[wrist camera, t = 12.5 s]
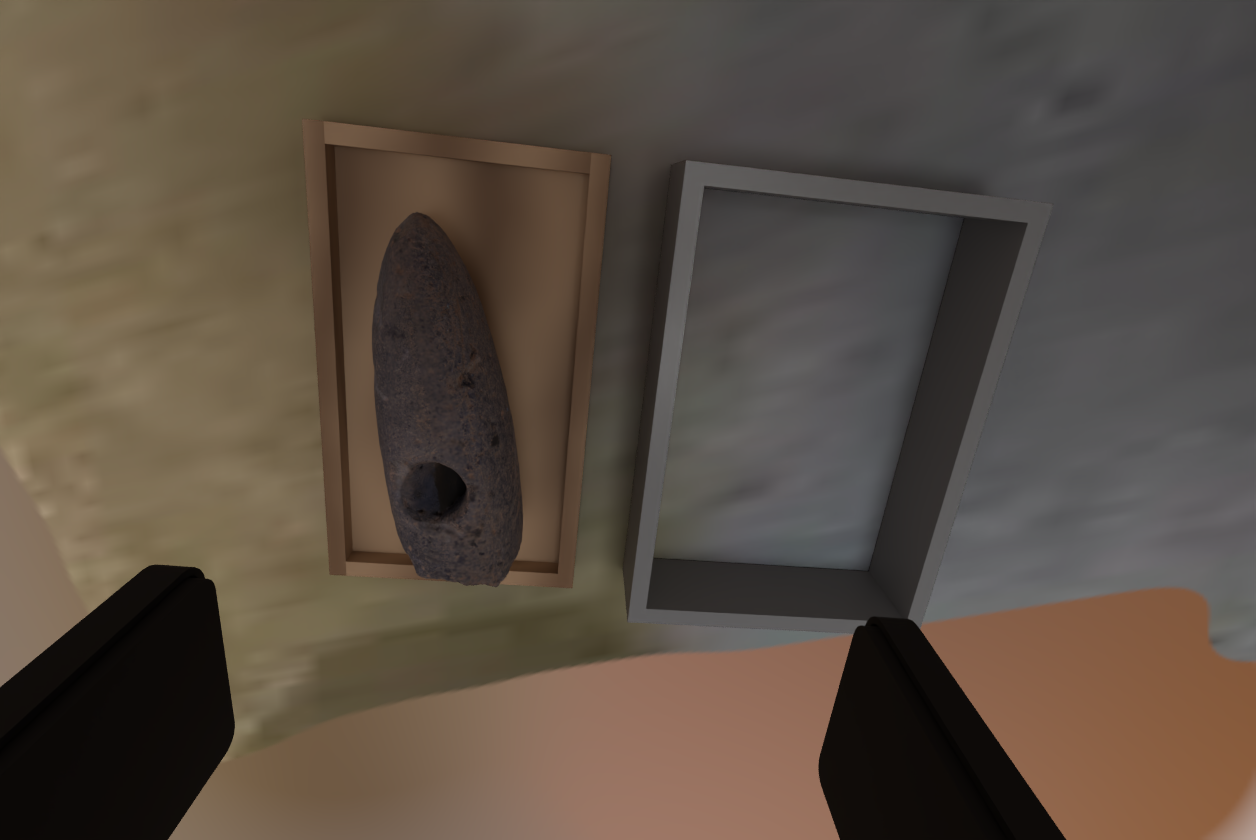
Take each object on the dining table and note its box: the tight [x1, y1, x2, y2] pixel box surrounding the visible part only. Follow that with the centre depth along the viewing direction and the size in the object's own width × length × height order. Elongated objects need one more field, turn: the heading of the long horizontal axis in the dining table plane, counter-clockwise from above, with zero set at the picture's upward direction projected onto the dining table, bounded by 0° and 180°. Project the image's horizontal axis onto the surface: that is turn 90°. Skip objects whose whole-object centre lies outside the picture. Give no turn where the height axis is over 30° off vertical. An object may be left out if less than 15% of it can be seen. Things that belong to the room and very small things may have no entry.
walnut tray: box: [302, 119, 611, 588], centre depth 29 cm, size 12×21×2 cm, turn 174°
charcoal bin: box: [623, 160, 1053, 634], centre depth 30 cm, size 15×21×4 cm
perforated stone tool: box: [372, 212, 523, 587], centre depth 26 cm, size 15×5×7 cm, turn 2°
